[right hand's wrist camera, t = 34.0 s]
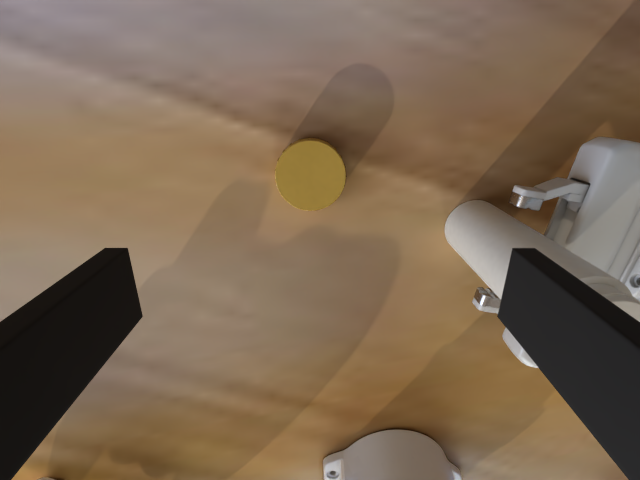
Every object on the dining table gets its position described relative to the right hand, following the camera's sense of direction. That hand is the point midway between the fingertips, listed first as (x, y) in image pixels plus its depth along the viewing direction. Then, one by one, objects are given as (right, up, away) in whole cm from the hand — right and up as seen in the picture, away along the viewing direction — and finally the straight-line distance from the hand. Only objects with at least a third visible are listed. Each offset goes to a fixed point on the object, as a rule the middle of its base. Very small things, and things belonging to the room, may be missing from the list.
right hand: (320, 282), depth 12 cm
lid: (-1, +7, +19) cm, 21 cm away
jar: (+15, +3, +23) cm, 28 cm away
